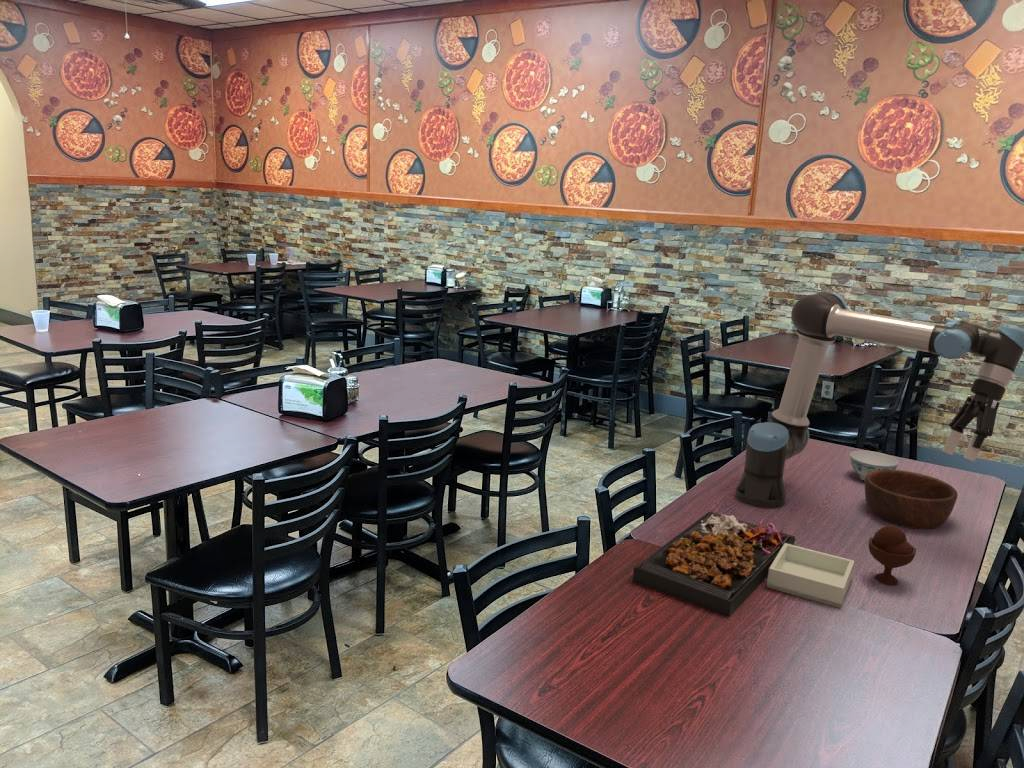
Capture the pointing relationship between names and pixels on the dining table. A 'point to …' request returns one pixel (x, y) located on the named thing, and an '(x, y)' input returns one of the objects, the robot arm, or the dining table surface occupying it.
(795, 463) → the dining table surface
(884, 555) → the ice cream bowl
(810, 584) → the bin
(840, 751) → the dining table surface
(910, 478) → the wooden bowl
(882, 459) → the chinaware
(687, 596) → the food platter
